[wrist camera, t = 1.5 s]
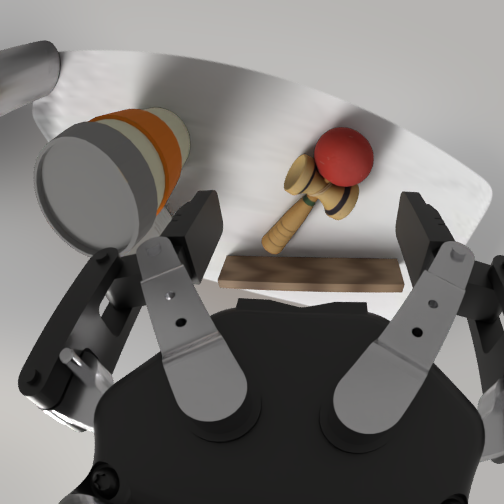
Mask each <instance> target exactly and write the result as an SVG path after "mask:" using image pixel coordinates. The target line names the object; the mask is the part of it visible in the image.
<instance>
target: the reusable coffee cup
mask: <svg viewBox="0 0 504 504" xmlns="http://www.w3.org/2000/svg"><path fill="white" fill-rule="evenodd" d="M189 151H190V137H189V133H188V130H187V128H186V126H185V125H184V123H183V122H182V120H181V119H180V118H179V117H178V116H177V115H175V114H174V113H173V112H171V111H169V110H167V109H163V108H155V107H153V108H147V109H143V110H140V109H127V110H122V111H118V112H114V113H110V114H106V115H102V116H98V117H95V118H93V119H91V120H90V121H88V122H82V123H78V124H74V125H73V126H71V127H70V128H68V129H66V130H65V131H63V132H62V133H61V134H59V135H58V136H57V137H55V138H54V139H53V140H51V141H50V142H49V143H47V144H46V145H45V146H44V148H43V149H42V150H41V151H40V153H39V155H38V157H37V160H36V163H35V168H34V188H35V193H36V197H37V200H38V203H39V206H40V208H41V211H42V213H43V215H44V216H45V218H46V220H47V222H48V223H49V224H50V226H51V227H52V229H53V230H54V231H55V232H56V234H57V235H58V236H59V237H60V238H61V239H62V240H63V241H64V242H66V243H67V244H68V245H69V246H70V247H72V248H73V249H75V250H76V251H78V252H80V253H82V254H84V255H86V256H88V257H92V256H93V255H94V254H95V253H96V252H98V251H100V250H102V249H104V248H108V247H113V248H116V249H117V250H118V252H119V254H120V256H121V257H123V256H124V255H126V254H127V253H128V252H130V251H131V250H132V249H133V248H134V246H135V245H136V244H137V243H138V242H139V241H140V240H141V239H142V238H143V237H144V236H145V235H146V234H147V233H148V231H149V230H150V229H151V227H152V226H153V223H154V221H155V218H156V216H157V215H158V214H159V213H160V211H161V210H162V209H163V207H164V206H165V204H166V202H167V200H168V198H169V196H170V195H171V193H172V191H173V189H174V187H175V186H176V184H177V181H178V179H179V177H180V173H181V169H182V167H183V165H184V163H185V162H186V160H187V158H188V155H189Z"/></svg>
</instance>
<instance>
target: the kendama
mask: <svg viewBox="0 0 504 504" xmlns="http://www.w3.org/2000/svg"><path fill="white" fill-rule="evenodd" d="M373 161H374V156H373V150H372V148H371V146H370V144H369V142H368V141H367V139H366V138H365V137H364V136H363V135H361V134H360V133H359V132H358V131H356V130H353V129H350V128H344V127H338V128H333V129H331V130H329V131H327V132H326V133H324V134H323V135H322V136H321V138H320V139H319V140H318V142H317V144H316V147H315V151H314V158H312V157H310V156H308V155H306V154H303V155H301V156H299V157H298V158H297V159H296V160H295V161H294V163H293V164H292V166H291V168H290V169H289V171H288V173H287V176H286V178H285V182H284V189H285V191H287V192H288V193H290V194H292V195H297V194H301V193H307V194H306V195H304V196H303V197H302V198H301V199H300V200H299V201H298V202H296V203H295V204H294V205H293V206H292V207H291V208H290V209H289V210H288V211H287V212H286V213H285V214H284V215H283V217H282V218H281V219H280V220H279V221H278V222H277V223H276V224H275V225H274V226H273V227H272V228H271V229H270V230H269V231H268V232H267V233H266V234H265V235H264V236H263V238H262V245H263V247H264V248H265V250H266V251H268V252H269V253H271V254H279V253H280V252H281V251H282V250H283V248H284V247H285V245H286V244H287V243H288V241H289V240H290V239H291V237H292V236H293V235H294V234H295V232H296V231H297V230H298V228H299V227H300V226H301V224H302V223H303V222H304V220H305V219H306V217H307V216H308V214H309V213H310V211H311V210H312V208H313V206H314V205H315V203H316V201H317V200H318V199H319V200H320V201H321V202H322V204H323V206H324V209H325V213H326V214H327V215H328V216H329V217H331V218H333V219H335V220H341V219H343V218H345V217H346V216H347V215H348V214H349V213H350V212H351V211H352V210H353V208H354V206H355V204H356V202H357V199H358V195H359V187H358V185H357V184H358V183H360V182H362V181H363V180H364V179H365V178H366V177H367V176H368V175H369V173H370V171H371V169H372V166H373Z"/></svg>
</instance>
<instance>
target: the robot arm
mask: <svg viewBox="0 0 504 504" xmlns="http://www.w3.org/2000/svg"><path fill="white" fill-rule="evenodd" d="M59 70H60V60H59V55H58V51H57V49H56V48H55V46H54V45H53V44H52V43H51V42H49V41H38V42H33V43H29V44H25V45H20V46H16V47H12V48H8V49H4V50H1V51H0V116H2V115H4V114H6V113H8V112H10V111H13V110H15V109H17V108H19V107H21V106H23V105H26V104H28V103H30V102H33V101H35V100H38V99H40V98H43V97H45V96H47V95H48V94H49V93H50V92H51V91H52V90H53V88H54V86H55V84H56V82H57V79H58V76H59ZM222 231H223V220H222V215H221V210H220V205H219V200H218V195H217V192H216V191H215V190H208V191H198V192H197V193H196V195H195V196H194V198H193V199H192V200H191V202H187V203H186V204H185V205H183V206H182V207H180V208H179V210H178V211H177V212H176V214H175V216H173V218H172V219H171V222H169V223H168V225H167V226H166V228H165V229H164V231H163V232H162V233H161V235H160V236H159V237H154V238H151V239H148V240H146V241H145V242H143V243H142V244H141V245H140V246H139V247H138V248H137V250H136V254H132V255H127V256H123V257H121V256H120V254H119V252H118V250H117V249H116V248H113V247H108V248H104V249H102V250H100V251H98V252H96V253H95V254H94V255H93V256H92V257H91V258H90V260H89V261H88V262H87V264H86V265H85V266H84V268H83V269H82V271H81V272H80V274H79V275H78V276H77V278H76V279H75V281H74V282H73V284H72V285H71V287H70V288H69V290H68V291H67V293H66V294H65V296H64V297H63V299H62V300H61V302H60V304H59V305H58V307H57V308H56V310H55V311H54V313H53V315H52V316H51V318H50V320H49V321H48V323H47V324H46V326H45V328H44V330H43V331H42V333H41V335H40V337H39V338H38V340H37V342H36V344H35V346H34V347H33V349H32V351H31V353H30V355H29V357H28V359H27V360H26V362H25V364H24V366H23V368H22V370H21V372H20V375H19V379H18V387H19V390H20V392H21V393H22V394H23V395H24V396H26V397H27V398H28V399H30V400H31V401H32V402H33V403H35V404H36V405H37V406H38V407H39V408H40V409H41V410H42V411H44V412H45V413H47V414H48V415H49V416H51V417H52V418H54V419H55V420H57V421H58V422H60V423H63V424H65V425H66V426H68V427H69V428H71V429H73V430H74V431H76V432H84V431H86V430H89V431H91V432H94V435H95V453H94V461H93V466H92V469H91V470H90V472H89V474H88V476H87V477H86V478H85V479H84V481H83V482H82V483H81V484H80V485H79V486H78V487H77V488H76V489H74V490H73V491H72V492H71V493H70V494H68V495H67V496H66V497H65V498H63V499H62V500H61V501H60V502H59V504H468V498H469V493H470V489H471V485H472V481H473V478H474V475H475V472H476V469H477V466H478V464H479V462H482V461H486V460H490V459H491V460H492V461H493V462H494V463H497V464H501V463H504V330H503V327H502V324H501V321H500V318H499V315H500V314H501V312H503V314H504V256H501V255H498V256H496V257H494V259H493V261H492V263H491V265H488V264H485V263H481V262H478V261H475V257H474V254H473V252H472V251H471V250H470V249H469V248H468V247H467V246H465V245H463V244H461V243H459V242H455V240H454V238H453V236H452V235H451V233H450V231H449V229H448V228H447V226H446V225H445V223H444V221H443V220H442V218H441V216H440V214H439V213H438V211H437V210H436V209H434V208H433V207H432V206H431V205H429V204H426V203H425V201H424V200H423V198H422V197H421V195H420V194H419V193H418V192H402V193H401V196H400V202H399V208H398V214H397V220H396V237H397V240H398V243H399V246H400V248H401V251H402V254H403V257H404V260H405V264H406V267H407V270H408V273H409V276H410V280H411V283H412V287H413V289H412V291H411V292H410V294H409V295H408V297H407V298H406V300H405V301H404V303H403V304H402V306H401V307H400V309H399V310H398V312H397V313H396V315H395V316H394V317H393V319H392V320H391V321H389V320H387V319H385V318H383V317H381V316H379V315H376V314H373V313H369V312H368V311H367V302H333V303H327V304H321V305H316V306H310V307H302V308H301V307H296V306H291V305H288V304H284V303H280V302H276V301H272V300H263V299H244V298H239V299H238V303H237V306H236V308H231V309H226V310H223V311H220V312H218V313H215V314H213V315H211V316H209V314H208V312H207V310H206V308H205V306H204V304H203V302H202V300H201V299H200V297H199V295H198V293H197V291H196V289H195V287H194V285H193V284H200V283H201V281H202V278H203V276H204V274H205V271H206V269H207V267H208V264H209V262H210V260H211V257H212V255H213V253H214V251H215V248H216V246H217V244H218V242H219V239H220V237H221V235H222ZM105 295H106V297H107V299H108V300H109V304H108V306H107V307H106V309H105V311H104V313H103V315H102V317H100V314H99V306H100V303H101V301H102V300H103V298H104V296H105ZM144 305H147V309H148V312H149V315H150V319H151V322H152V325H153V329H154V332H155V335H156V338H157V341H158V344H159V347H160V350H161V351H160V352H159V353H157V354H156V355H155V356H153V357H152V358H150V359H149V360H148V361H146V362H145V363H143V364H142V365H140V366H139V367H138V368H136V369H135V370H133V371H132V372H131V373H129V374H128V375H126V376H125V377H124V378H122V379H120V380H119V381H118V382H116V383H115V384H113V383H114V382H113V377H112V374H113V371H114V369H115V366H116V364H117V361H118V359H119V356H120V354H121V352H122V349H123V347H124V345H125V343H126V340H127V338H128V336H129V333H130V331H131V329H132V327H133V324H134V322H135V320H136V318H137V316H138V314H139V312H140V309H141V307H142V306H144ZM456 315H459V316H463V317H466V318H467V320H468V324H469V328H470V331H471V336H472V340H473V344H474V348H475V352H476V358H477V362H478V367H479V373H480V379H481V385H482V391H483V395H482V396H481V398H480V400H479V403H478V410H477V409H476V408H475V407H474V405H473V404H472V403H471V402H470V401H469V400H468V399H467V398H466V397H465V395H464V394H463V393H462V392H461V391H460V390H459V389H458V388H457V387H456V386H455V385H454V384H453V383H452V382H451V380H450V379H449V378H448V377H447V376H446V375H445V374H444V373H443V372H442V371H441V370H440V369H439V368H438V367H437V366H436V365H435V364H434V363H433V362H434V360H435V358H436V356H437V354H438V352H439V350H440V348H441V346H442V344H443V342H444V340H445V338H446V336H447V334H448V332H449V330H450V328H451V325H452V323H453V321H454V318H455V316H456Z"/></svg>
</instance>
